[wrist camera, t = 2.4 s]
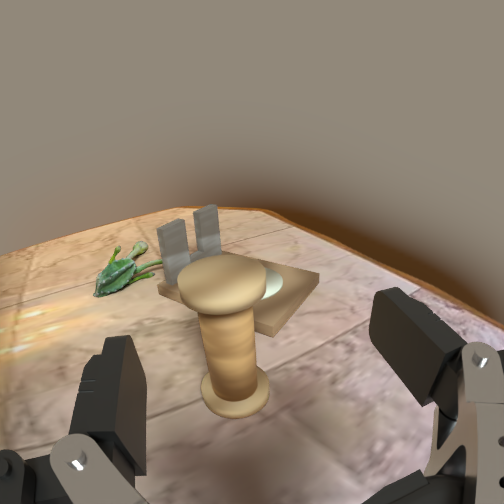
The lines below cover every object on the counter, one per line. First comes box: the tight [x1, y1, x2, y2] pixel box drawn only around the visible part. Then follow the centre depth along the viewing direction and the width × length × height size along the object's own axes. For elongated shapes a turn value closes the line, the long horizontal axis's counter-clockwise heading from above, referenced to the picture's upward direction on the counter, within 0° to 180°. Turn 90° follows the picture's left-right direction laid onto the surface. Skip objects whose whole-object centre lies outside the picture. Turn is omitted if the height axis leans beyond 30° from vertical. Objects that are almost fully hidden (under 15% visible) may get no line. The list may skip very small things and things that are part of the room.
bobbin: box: [177, 255, 269, 419], centre depth 24 cm, size 6×6×12 cm
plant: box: [93, 241, 163, 297], centre depth 48 cm, size 15×16×6 cm
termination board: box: [157, 204, 319, 337], centre depth 41 cm, size 18×13×10 cm
